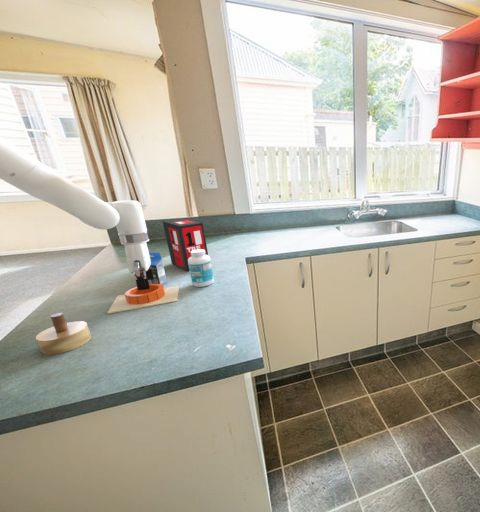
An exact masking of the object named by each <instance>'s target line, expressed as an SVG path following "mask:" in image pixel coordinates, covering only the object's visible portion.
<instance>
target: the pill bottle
mask: <svg viewBox="0 0 480 512" xmlns="http://www.w3.org/2000/svg"><path fill="white" fill-rule="evenodd" d="M188 265H189V270H190V272H189V274H190V280H191V284H192V286H194V287H197V288H200V287H201V288H203V287H207V286H211V285H212V284H214V282H215V277H214V271H213V265H212V259H211V256H210V255H209V254H208V255H205V250H204V249H196V250H192V251H191V257H190V258H189V259H188Z"/></svg>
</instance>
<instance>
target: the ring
mask: <svg viewBox="0 0 480 512" xmlns="http://www.w3.org/2000/svg"><path fill="white" fill-rule="evenodd" d="M149 285H150V289H146V290H140V291H139V290H138V288H137V286H135V287H132V288H130V289H128V290H126V291H125V293H124V295H125V297H126V301H127V303H129V304H136V305H138V304H145V303H150V302H153V301H156V300H158V299H160V298H162V297H164V295H165V290H164V288H165V287H164V284H163V285H161V284H149Z"/></svg>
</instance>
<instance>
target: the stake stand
mask: <svg viewBox="0 0 480 512" xmlns="http://www.w3.org/2000/svg"><path fill="white" fill-rule="evenodd" d="M50 319H51V322H52V325H53V326H51V327H49V328H46V329H43V330H42V331H40V332H39V333H38V334H36V336H35V341H36V343H37V345H38V347H39V348H38V349H39V350H40V352H41V354H43V355H47V356H50V355H51V356H52V355H59V354H63V353H67V352H69V351H73V350H76V349H78V348H80V347H82V346H84V345H86V344H87V343H89V342H90V341H91V339H92V334H91V331H90V327H89V325H88V323H87V322H86V321H82V320H78V321H76V320H75V321H69V322H67V320H66V317H65V315H64V313H63V312H57V313H54V314H51V315H50Z"/></svg>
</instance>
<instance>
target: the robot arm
mask: <svg viewBox="0 0 480 512" xmlns="http://www.w3.org/2000/svg"><path fill="white" fill-rule="evenodd" d="M0 180H2V181H4V182H5V183H7V184H9V185H11V186H13V187H14V188H16V189H18V190H20V191H22V192H24V193H26V194H27V195H28V196H29V195H30V196H31V197H34V198H35V199H38V200H41V201H43V202H46V203H48V204H50V205H52V206H54V207H57V209H60V210H62V211H64V212H66V213H68V214H70V215H72V216H73V217H75V218H77V219H78V220H80V222H82V223H83V224H85V225H88V226H89V227H92V228H94V229H96V230H103V231H104V230H110V229H113V228H115V227H116V230H117V234H118V238H119V242H120V244H121V245H123V246H124V253H125V259H126V263H127V267H128V272H129V273H130V274H133V273H134V281H135V285H136V287H137V288H138V290H139V291H140V290H146V289H150V285H149V282H148V280H152V279H154V276H153V272H152V269H151V266H150V265H151V260H150V257H151V255H149V253H150V251H149V248H148V243H147V242H150V237H149V232H148V228H147V224H146V219H145V215H144V211H143V208H142V204H141V203H140V201H139V200H134V199H133V200H132V199H125V200H124V199H123V200H116V201H105V200H102V199H100V198H99V197H98V196H96V195H94V194H93V193H91V192H89V191H88V190H87V189H84V188H83V187H81V186H79V185H77V184H76V183H74V182H73V181H71V180H70V179H68V178H66V177H65V176H64V175H62V174H60V173H59V172H57V171H55V170H54V169H53V168H51V167H50V166H47V165H46V164H44V163H43V162H41V161H39V160H38V159H36V158H34V157H33V156H31V155H30V154H29V153H26V152H25V151H23V150H22V149H20V148H19V147H18V146H16V145H14V144H12V143H11V142H9V141H8V140H6V139H5V138H3V137H1V136H0ZM140 269H141V270H140Z"/></svg>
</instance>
